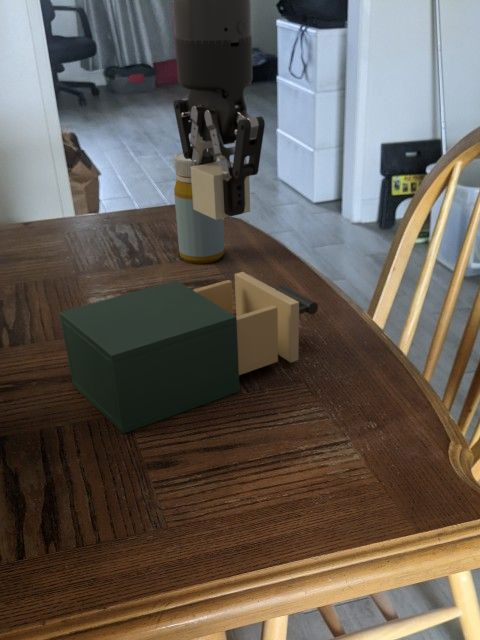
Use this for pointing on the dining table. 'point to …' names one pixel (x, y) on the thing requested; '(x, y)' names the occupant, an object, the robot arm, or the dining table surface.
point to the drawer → (261, 319)
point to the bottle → (194, 221)
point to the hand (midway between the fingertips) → (221, 207)
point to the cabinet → (151, 353)
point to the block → (212, 190)
